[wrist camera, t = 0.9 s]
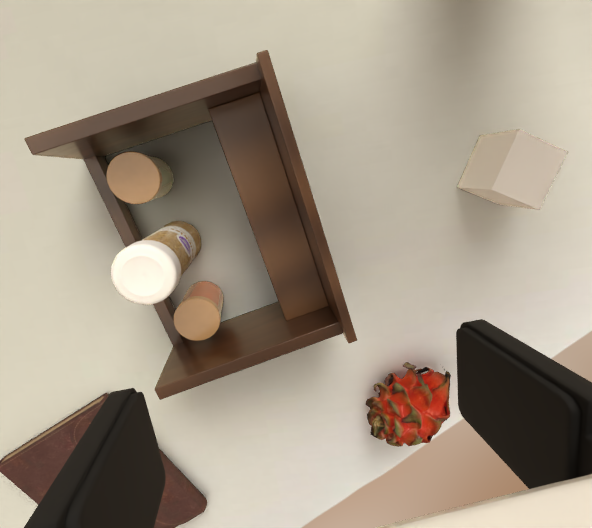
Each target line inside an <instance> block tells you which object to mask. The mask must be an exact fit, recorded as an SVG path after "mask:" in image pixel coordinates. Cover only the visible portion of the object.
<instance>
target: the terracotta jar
mask: <svg viewBox="0 0 592 528" xmlns="http://www.w3.org/2000/svg"><path fill="white" fill-rule="evenodd" d="M223 300H224V298H223V293H222V291H221V290H220V288H219V287H218V286H217V285H215V284H214V283H211V282H208V281H201V282H197V283H195V284H193V285H192V286H191V287H190V288H189V289H188V291H187V292H186V294H185V296H184V298H183V300H182V302H181V303H180V304H179V305H178V307H177V309H176V311H175V313H174V325H175V328H176V329H177V331H178V332H179V333H180V334H181V335H182V336H183V337H185V338H187V339H190V340H194V341H200V340H205V339H207V338H209V337H211V336H212V335H214V334H215V333H216V331H217V330H218V328H219V325H220V321H221V311H222V306H223Z"/></svg>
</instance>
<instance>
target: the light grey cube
mask: <svg viewBox="0 0 592 528" xmlns="http://www.w3.org/2000/svg"><path fill="white" fill-rule="evenodd" d="M567 154H568V152H567V151H565V150H563V149H561V148H559V147H557V146H555V145H553V144H550V143H548V142H546V141H544V140H542V139H540V138H538V137H535V136H533V135H531V134H529V133H527V132H525V131H523V130H521V129H516V130H510V131H504V132H498V133H492V134H486V135H480V136H479V138H478V141H477V143H476V145H475V147H474V150H473V152H472V154H471V156H470V159H469V161H468V163H467V166H466V168H465V170H464V172H463V175H462V177H461V179H460V181H459V184H458V186H457V188H460V189H462V190H465V191H467V192H470V193H472V194H474V195H477V196H479V197H482V198H484V199H487V200H489V201H492V202H494V203H496V204H499V205H506V206H514V207H522V208H530V209H538V210H540V208H541V206H542V204H543V202H544V200H545V198H546V196H547V194H548V192H549V190H550V188H551V186H552V184H553V182H554V180H555V178H556V176H557V174H558V172H559V170H560V168H561V166H562V164H563V162H564V160H565V158H566V156H567Z"/></svg>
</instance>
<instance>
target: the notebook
mask: <svg viewBox="0 0 592 528" xmlns="http://www.w3.org/2000/svg"><path fill="white" fill-rule="evenodd" d="M107 397H108V394H107V393H105V394H103V395H102V396H100V397H99V398H97V399H96V400H94V401H92V402H91V403H89V404H88V405H86V406H84V407H83V408H81V409H80V410H78V411H76V412H75V413H73V414H72V415H70V416H68V417H67V418H65V419H64V420H62V421H60V422H59V423H57V424H56V425H54V426H52V427H51V428H49V429H48V430H46V431H45V432H43V433H41V434H40V435H38V436H37V437H35V438H33V439H32V440H30V441H29V442H27V443H25V444H24V445H22V446H21V447H19V448H17V449H16V450H14V451H13V452H11V453H9V454H8V455H6V456H5V457H4V458H2V459H1V460H0V472H1V473H2V474H4V475H5V476H6V477H7V478H8V479H9V480H11V481H12V482H13V483H14V484H15V485H16V486H18V487H19V488H20V489H21V490H22V491H23V492H24V493H26V494H27V495H28V496H29V497H30V498H31V499H33V500H34V501H35V502H36V503H37V504H38V505H39V503H40V502H41V500H42V499H43V497H44V496H45V494H46V492H47V491H48V489H49V488H50V486H51V485H52V483H53V481H54V480H55V478H56V477H57V475H58V474H59V472H60V471H61V469H62V467H63V466H64V464H65V463H66V461H67V460H68V458H69V456H70V455H71V453H72V452H73V450H74V449H75V447H76V445H77V444H78V442H79V441H80V439H81V438H82V436H83V435H84V433H85V431H86V430H87V428H88V427H89V425H90V424H91V422H92V420H93V419H94V417H95V416H96V414H97V413H98V411H99V409H100V408H101V406H102V405H103V403H104V402H105V400H106V399H107ZM159 451H160V455H161V458H162V462H163V465H164V469H165V475H166V481H165V487H164V491H163V495H162V499H161V502H160V506H159V510H158V514H157V518H156V521H155V525H154V528H175V527H177V526H178V525H181V524H184V523H186V522H188V521H189V520H191V519H193V518H194V517H196V516H197V515H199V514H201V513H202V512H204V510H205V508H206V506H207V500H206V498H205V497H204V496H203V495H202V494H201V493H200V492H199V491H198V490H197V488H196V487H195V486H194V485H193V484H192V483H191V482H190V481H189V480H188V479H187V478H186V477H185V476H184V475H183V474H182V473H181V472H180V470H179V469H178V468H177V467H176V466H175V465H174V464H173V463H172V462H171V461H170V460H169V459H168V458H167V457H166V456H165V455H164V453H163V452H162V451H161V450H160V449H159Z"/></svg>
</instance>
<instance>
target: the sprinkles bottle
mask: <svg viewBox="0 0 592 528" xmlns="http://www.w3.org/2000/svg"><path fill="white" fill-rule="evenodd" d="M200 248H201V239H200V235H199V233H198V231H197V230H196V229H195V228H194V227H193V226H192V225H190V224H188V223H186V222H181V221H175V222H171V223H169V224H166V225H165V226H164V227H163V228H161V229H159V230H158V231H156V232H154V233H153V234H151V235H149V236H148V237H146V238H144V239H143V240H142V241H137V242H135V243H133V244H131V245H129V246H128V247H126V248H124V249H123V250H122V251H121V252H120V253H119V254H118V255H117V256H116V257H115V259H114V261H113V263H112V267H111V278H112V282H113V284H114V286H115V288H116V290H117V291H118V292H119V293H120V294H121V295H122V296H123V297H124V298H126V299H127V300H129V301H131V302H134V303H137V304H142V305H150V304H155V303H158V302H160V301H163V300H164V299H166V298H167V297H168V296H169V295H170V294H171V293H172V292H173V290H174V289H175V288H176V286H177V285H178V283H179V281H180V277H181V275H182V274H183V273H184V271H185V270H186V269H187V268H188V267H189V265H190V264H191V262H192V261H193V259H194V258H195V256H196V255H197V254H198V252H199V251H200Z"/></svg>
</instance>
